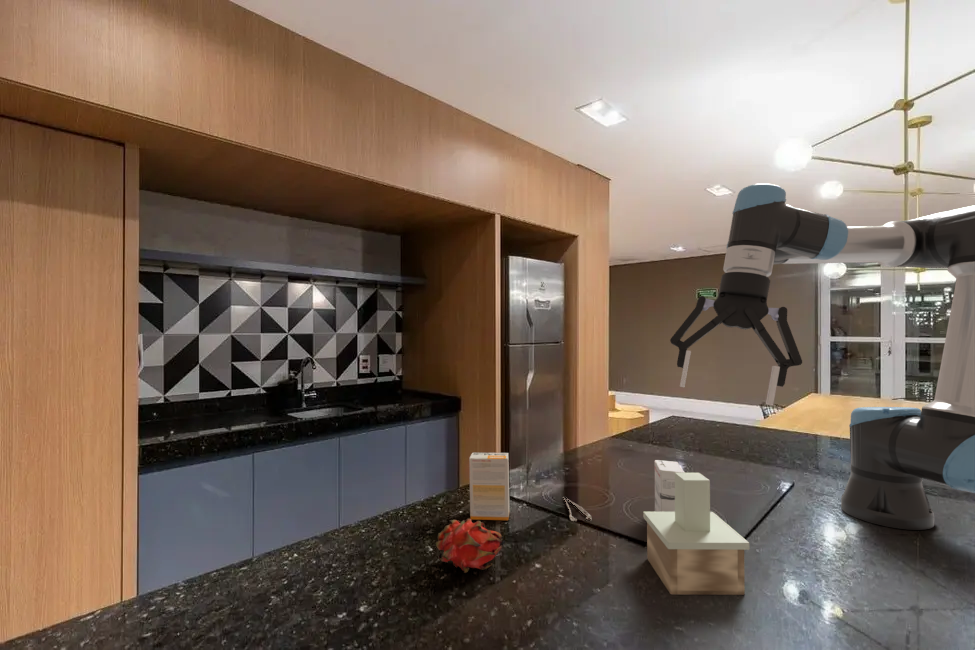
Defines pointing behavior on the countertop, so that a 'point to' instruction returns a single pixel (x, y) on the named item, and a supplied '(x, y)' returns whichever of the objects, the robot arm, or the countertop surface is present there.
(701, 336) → the robot arm
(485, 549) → the dragon fruit
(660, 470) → the ink box
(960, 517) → the countertop surface
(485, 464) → the supplement box
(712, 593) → the storage box
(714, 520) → the lid
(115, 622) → the countertop surface
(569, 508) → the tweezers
